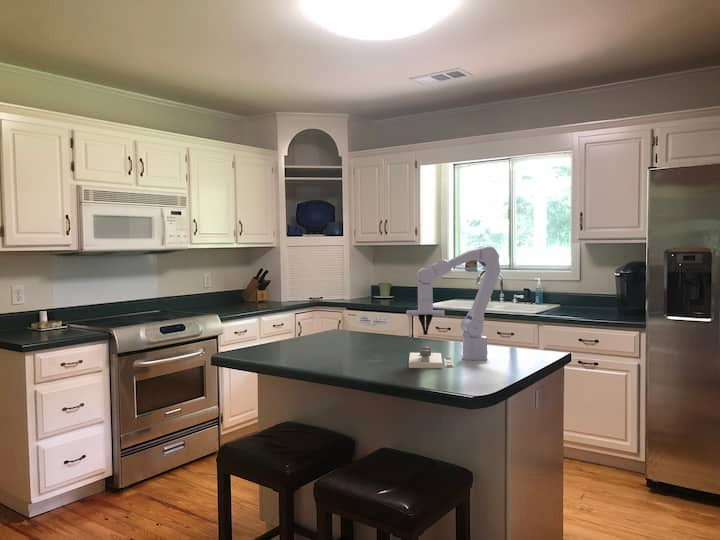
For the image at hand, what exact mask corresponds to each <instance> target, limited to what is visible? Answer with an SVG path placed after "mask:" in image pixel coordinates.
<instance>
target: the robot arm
mask: <svg viewBox="0 0 720 540" xmlns="http://www.w3.org/2000/svg"><path fill="white" fill-rule="evenodd" d="M470 261H477V262H478V263H479V264H480V265H481V266H482V267H483V270H484V275H483V278H482V280H481V283H480V285H479V288H478V290H477V293H476V296H475V299H474V300H473V304H472V306H471V309H470V310H469V311H468V312H467V314H466V316H465V317H464V318H463V319H462V320H461V324H460V327H461V330H462V331H463V333H462V354H461V355H460V357H461V360H462V361H488V338H487V336H486V335H482V333H483V332H484V322H485V312H486V309H487V307H488V304H489V302H490V299H491V298H492V295H493V292H494V288H495V287H496V284H497V282H498V278H499V276H500V274H501V266H500V255H499V253H498V252H497V250H496V248H495V247H493V246H490V245H489V246H484V245H480V246H479V247H474V248H472V249H470V250H467V251H465V252H462V253H461V254H459V255H457V256H455V257H453V258H451V259H444V258H443V259H441V258H440V259H438V260H437V261H436V262H435V263H432V264H427V265H426V267H422V268H419V269H418V271H417V272H416V275H415V278H416V280H417V309H409V310H408V309H407V310H406V311H405V313H406V317H409V316H410V317H412V316H415V317H418V320H419V322H420V325H421V328H422V332H423V335H424V336H425V335H426V336H427V335H428V331H429V326H430V324H431V322H432V320H433V317H434V316H435V317H439V316H441V317H445V310H444V309H443V310H442V309H441V310H440V309H437V310H436V309H434V308H433V307H434V305H433V304H434V303H433V302H434V299H433V298H434V296H433V295H434V294H433V291H434V290H433V281H434V280H437V279H439V278H441V277H443V276H446V275H448V274H450V273H451V272H452V269H453V268H455V267H458V266H461V265H463V264H465V263H467V262H470Z"/></svg>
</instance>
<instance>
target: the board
mask: <svg viewBox="0 0 720 540" xmlns="http://www.w3.org/2000/svg"><path fill="white" fill-rule="evenodd" d="M408 368H409V369H411V368H412V369H443V359H442V353H441V352H431V356H429V362H422V356H420V352H409V359H408Z"/></svg>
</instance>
